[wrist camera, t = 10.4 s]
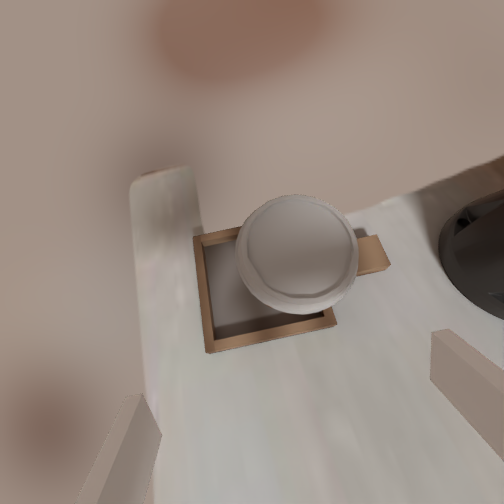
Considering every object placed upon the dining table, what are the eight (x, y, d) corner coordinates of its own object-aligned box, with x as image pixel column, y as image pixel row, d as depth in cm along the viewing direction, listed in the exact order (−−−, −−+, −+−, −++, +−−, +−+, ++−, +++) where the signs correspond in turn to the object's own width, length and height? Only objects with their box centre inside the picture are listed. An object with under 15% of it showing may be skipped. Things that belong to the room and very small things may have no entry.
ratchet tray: (356, 209, 34) (362, 198, 32) (403, 311, 28) (414, 306, 26) (197, 243, 34) (191, 235, 32) (210, 353, 28) (204, 352, 26)
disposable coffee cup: (239, 245, 31) (234, 189, 20) (316, 244, 31) (354, 188, 20) (239, 325, 28) (233, 313, 17) (325, 323, 28) (377, 311, 17)
